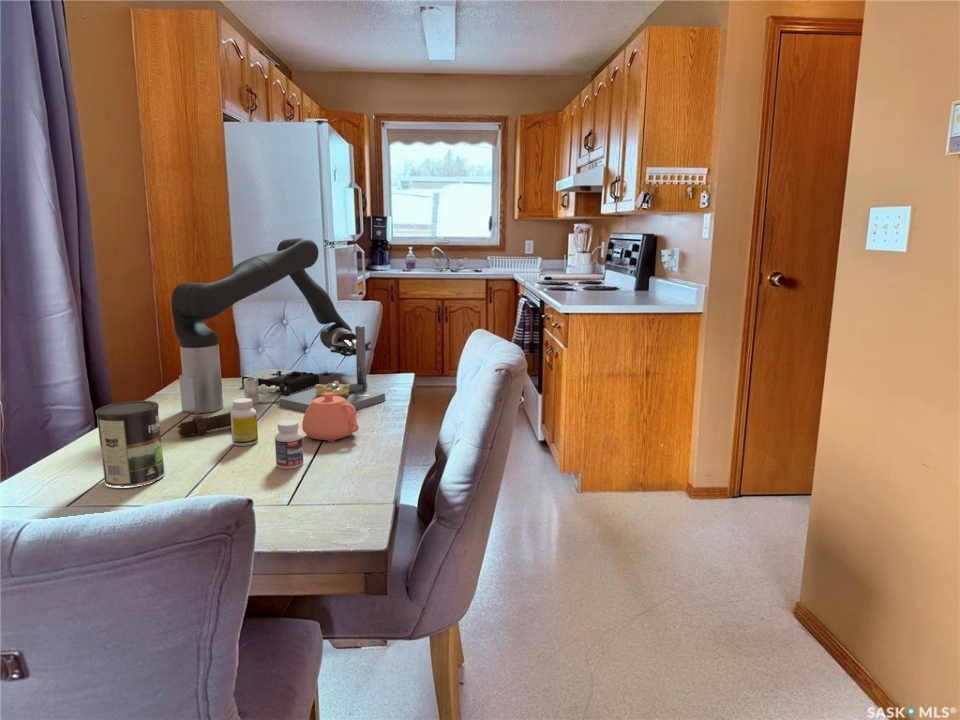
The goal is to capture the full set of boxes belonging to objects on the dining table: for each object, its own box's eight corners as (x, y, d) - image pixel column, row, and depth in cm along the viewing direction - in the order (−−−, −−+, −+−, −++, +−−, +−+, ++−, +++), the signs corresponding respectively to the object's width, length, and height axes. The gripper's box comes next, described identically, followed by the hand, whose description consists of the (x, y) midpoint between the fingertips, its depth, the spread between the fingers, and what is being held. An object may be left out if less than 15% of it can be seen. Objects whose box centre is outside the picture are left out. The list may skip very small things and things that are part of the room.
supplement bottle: (262, 443, 141) (259, 400, 139) (237, 448, 138) (234, 404, 136) (252, 437, 145) (249, 395, 143) (228, 442, 142) (225, 399, 140)
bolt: (179, 445, 146) (245, 430, 155) (183, 439, 142) (250, 424, 151) (173, 421, 147) (239, 408, 156) (177, 415, 143) (244, 402, 152)
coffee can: (169, 466, 127) (162, 398, 124) (159, 486, 117) (152, 412, 115) (111, 471, 124) (103, 402, 121) (97, 492, 114) (87, 416, 112)
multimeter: (291, 395, 185) (290, 378, 184) (241, 388, 192) (240, 372, 191) (320, 385, 196) (319, 369, 195) (272, 379, 204) (271, 364, 203)
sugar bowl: (326, 425, 155) (324, 384, 153) (374, 433, 149) (372, 391, 147) (291, 439, 144) (288, 396, 142) (340, 449, 138) (339, 403, 136)
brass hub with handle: (327, 400, 168) (324, 333, 164) (309, 394, 174) (306, 329, 171) (375, 391, 179) (373, 327, 175) (356, 385, 185) (354, 324, 181)
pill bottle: (288, 471, 125) (286, 428, 123) (270, 466, 127) (268, 423, 126) (309, 463, 129) (307, 421, 127) (291, 458, 132) (289, 417, 130)
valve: (245, 406, 172) (291, 401, 176) (243, 382, 170) (289, 378, 175) (243, 400, 178) (287, 396, 182) (241, 377, 176) (286, 373, 181)
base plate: (333, 417, 161) (333, 408, 161) (279, 405, 172) (279, 397, 171) (385, 400, 178) (384, 392, 177) (333, 390, 188) (333, 383, 188)
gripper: (323, 331, 197) (333, 340, 181) (365, 329, 202) (379, 337, 186) (324, 355, 199) (334, 366, 183) (366, 352, 204) (379, 362, 188)
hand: (357, 351), depth 185 cm, fingers closed
